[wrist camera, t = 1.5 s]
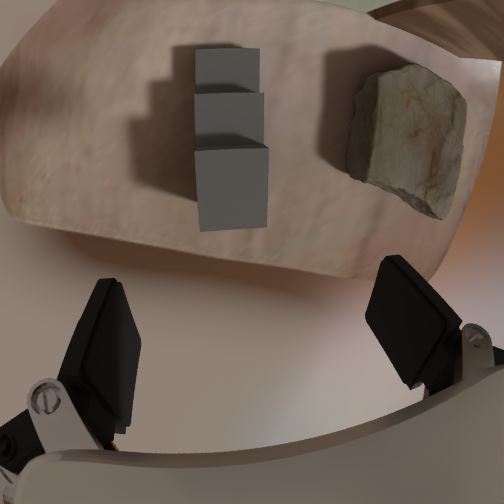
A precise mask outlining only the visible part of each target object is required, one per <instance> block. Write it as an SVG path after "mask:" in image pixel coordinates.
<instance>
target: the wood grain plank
mask: <svg viewBox="0 0 504 504" xmlns="http://www.w3.org/2000/svg"><path fill="white" fill-rule="evenodd" d="M375 18H376V20H377V21H380V22H383V23H386V24H389V25H391V26H394V27H397V28H399V29H402V30H404V31H407V32H409V33H411V34H414V35H416V36H418V37H421V38H423V39H425V40H427V41H429V42H431V43H433V44H435V45H437V46H439V47H441V48H443V49H445V50H447V51H449V52H451V53H453V54H454V55H456V56H458V57H460V58H475V59H487V60H497V61H504V0H399V1H396V2H393V3H390V4H387V5H385V6H382V7H379V8H377V9H375Z"/></svg>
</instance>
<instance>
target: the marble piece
mask: <svg viewBox="0 0 504 504" xmlns="http://www.w3.org/2000/svg"><path fill="white" fill-rule="evenodd" d="M354 104H355V113H354V117H353V119H352V121H351V123H350V131H349V137H348V143H347V153H346V160H347V168H348V170H349V174H350V177H351V178H353V179H355V180H360V181H362V182H363V183H370V184H372V185H374V186H378V187H381V188H382V189H383V190H385V191H387V192H391V193H394V194H396V195H397V196H399V197H400V198H401V199H402V200H403V201H404V202H406V203H408V204H409V205H410V206H412V207H413V208H414V209H415V210H417V211H419V212H420V213H423V214H425V215H426V216H429V217H431V218H434V219H439V220H445V219H446V217H447V215H448V213H449V210H450V208H451V206H452V202H453V198H454V194H455V191H456V186H457V181H458V177H459V173H460V168H461V161H462V154H463V149H464V146H463V138H464V133H465V127H466V117H467V103H466V101H465V99H464V98H463V97H462V95H461V94H460V93H459V92H458V91H457V90H456V89H455V88H454V87H453V86H452V84H451V83H449V82H448V81H446V80H443V79H442V78H441V77H439V76H438V75H436V74H434V73H433V72H432V71H430V70H429V69H427V68H425V67H423V66H421V65H419V64H410V63H409V64H406V65H404V66H402V67H400V68H399V69H396V70H390V71H383V72H376V73H374V74H372V75H370V76H368V77H367V79H366V83H365V85H364V86H363V88H362V89H361V90H360V91H359V92H357V93H355V94H354Z"/></svg>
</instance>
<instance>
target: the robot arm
mask: <svg viewBox="0 0 504 504" xmlns="http://www.w3.org/2000/svg"><path fill="white" fill-rule="evenodd" d="M365 319H366V322H367V323H368V325H369V326H370V328H371V330H372V331H373V333H374V335H375V336H376V338H377V339H378V341H379V343H380V344H381V346H382V348H383V349H384V351H385V353H386V354H387V356H388V357H389V359H390V361H391V363H392V364H393V366H394V368H395V370H396V371H397V373H398V375H399V376H400V378H401V380H402V381H403V383H404V384H407V386H408V387H409V389H410V390H412V389H414V388H417V387H419V386H421V384H422V383H424V385H425V389H424V395H423V400H421V401H419V402H417V403H415V404H412V405H411V406H408V407H406V408H403V409H401V410H398V411H396V412H394V413H391V414H388V415H386V416H383V417H380V418H377V419H375V420H372V421H369V422H366V423H363V424H360V425H357V426H354V427H351V428H347V429H345V430H341V431H337V432H333V433H330V434H326V435H322V436H318V437H314V438H310V439H305V440H301V441H296V442H291V443H286V444H280V445H274V446H268V447H262V448H255V449H246V450H238V451H227V452H213V453H183V454H181V453H180V454H179V453H178V454H166V453H165V454H164V453H139V452H125V451H119V449H118V448H117V447H116V445H115V444H114V443H113V440H114V433H118V434H125V433H126V427H129V426H130V424H131V417H132V407H133V398H134V390H135V383H136V376H137V369H138V362H139V356H140V350H141V338H140V336H139V333H138V330H137V327H136V325H135V322H134V319H133V316H132V313H131V310H130V308H129V305H128V301H127V298H126V295H125V292H124V289H123V286H122V284H121V282H117V280H116V279H115V278H105V279H99V280H98V282H97V283H96V286H95V288H94V290H93V292H92V294H91V296H90V299H89V300H88V303H87V305H86V307H85V310H84V312H83V314H82V316H81V318H80V320H79V321H78V324H77V326H76V328H75V331H74V333H73V336H72V338H71V341H70V344H69V346H68V349H67V352H66V354H65V357H64V360H63V362H62V365H61V368H60V371H59V374H58V377H57V380H56V379H52V378H46V379H43V380H40V381H38V382H37V383H36V384H34V385H33V387H32V388H31V389H30V391H29V394H28V397H27V406H28V409H26V410H25V411H23V412H22V413H20V414H19V415H17V416H16V417H14V418H13V419H11V420H10V421H9V422H7V423H6V424H4V425H3V426H1V427H0V504H504V350H502V349H500V348H497V347H494V346H492V341H491V338H490V335H489V334H488V332H487V331H486V330H485V329H484V328H482V327H481V326H479V325H477V324H473V323H469V324H466V325H464V327H463V328H462V330H460V329H459V326H460V325H461V323H462V320H461V319H460V317H459V316H458V315H457V314H456V313H455V312H454V310H453V309H452V308H451V307H450V306H449V305H448V304H447V303H446V301H445V300H444V299H443V298H442V297H441V296H440V295H439V294H438V293H437V292H436V291H435V290H434V289H433V287H432V286H431V285H430V284H429V283H428V282H427V281H426V280H425V279H424V278H423V277H422V276H421V275H420V274H419V273H418V272H417V271H416V270H415V269H414V268H413V267H412V266H411V265H410V264H409V263H408V262H407V261H406V260H405V259H404V258H403V257H402V256H400V255H391V256H386V257H385V258H384V260H382V261H381V263H380V267H379V270H378V274H377V277H376V281H375V285H374V288H373V291H372V294H371V298H370V301H369V304H368V307H367V310H366V313H365Z"/></svg>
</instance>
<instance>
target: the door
mask: <svg viewBox="0 0 504 504" xmlns="http://www.w3.org/2000/svg"><path fill="white" fill-rule="evenodd" d="M315 1H320V2H325V3H329V4H334V5H338V6H342V7H346V8H350V9H353V10H357V11H360V12H364V13H367V12H369V11H372V10H374V9H377V8H379V7H382V6H385V5H387V4H390V3H393V2H396V1H399V0H315Z"/></svg>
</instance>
